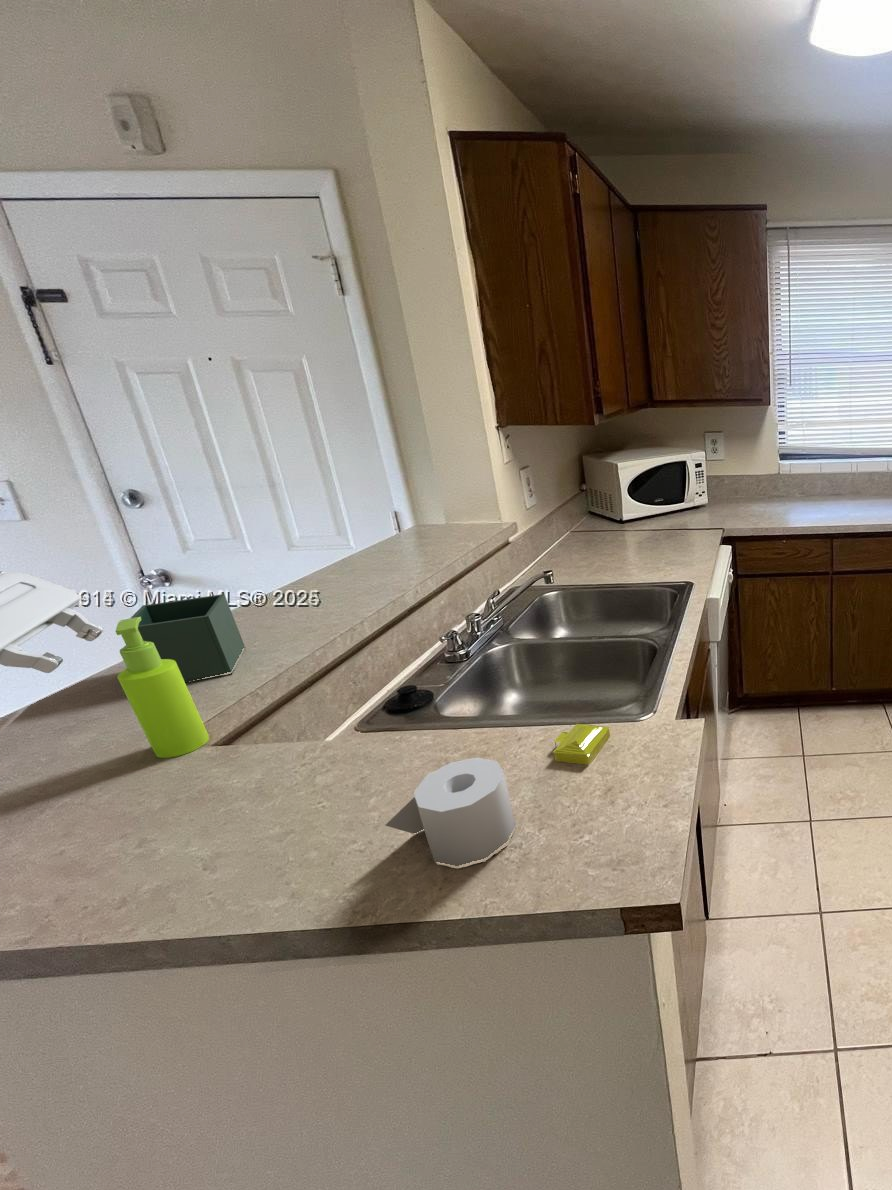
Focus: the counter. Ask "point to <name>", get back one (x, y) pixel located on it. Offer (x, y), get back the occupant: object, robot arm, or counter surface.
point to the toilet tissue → (460, 811)
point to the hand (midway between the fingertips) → (78, 650)
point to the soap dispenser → (158, 696)
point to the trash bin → (193, 634)
